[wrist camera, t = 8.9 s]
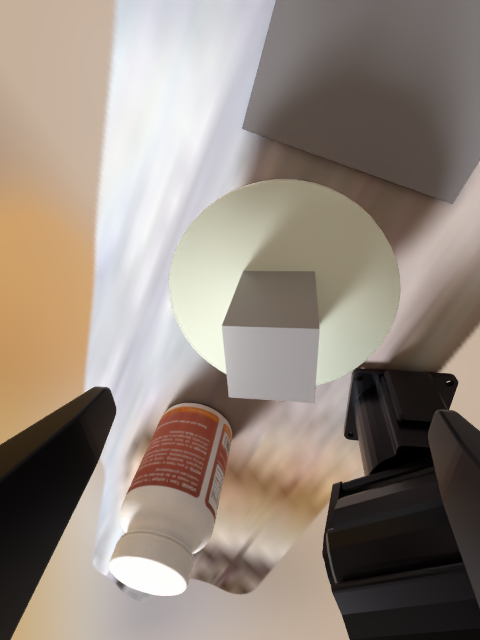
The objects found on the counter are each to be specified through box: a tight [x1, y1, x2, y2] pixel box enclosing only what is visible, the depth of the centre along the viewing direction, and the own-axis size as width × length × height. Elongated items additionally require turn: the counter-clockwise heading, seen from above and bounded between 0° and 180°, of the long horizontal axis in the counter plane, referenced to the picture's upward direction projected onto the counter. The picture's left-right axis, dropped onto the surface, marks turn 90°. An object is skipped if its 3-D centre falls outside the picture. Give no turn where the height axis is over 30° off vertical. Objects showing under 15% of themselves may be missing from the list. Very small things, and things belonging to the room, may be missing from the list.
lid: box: [169, 179, 400, 403], centre depth 13 cm, size 10×10×5 cm
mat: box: [242, 0, 480, 204], centre depth 14 cm, size 11×11×1 cm
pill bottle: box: [109, 403, 232, 596], centre depth 24 cm, size 6×6×11 cm
